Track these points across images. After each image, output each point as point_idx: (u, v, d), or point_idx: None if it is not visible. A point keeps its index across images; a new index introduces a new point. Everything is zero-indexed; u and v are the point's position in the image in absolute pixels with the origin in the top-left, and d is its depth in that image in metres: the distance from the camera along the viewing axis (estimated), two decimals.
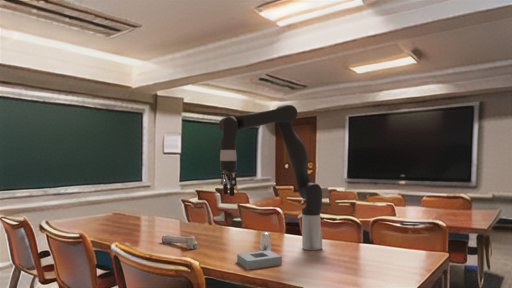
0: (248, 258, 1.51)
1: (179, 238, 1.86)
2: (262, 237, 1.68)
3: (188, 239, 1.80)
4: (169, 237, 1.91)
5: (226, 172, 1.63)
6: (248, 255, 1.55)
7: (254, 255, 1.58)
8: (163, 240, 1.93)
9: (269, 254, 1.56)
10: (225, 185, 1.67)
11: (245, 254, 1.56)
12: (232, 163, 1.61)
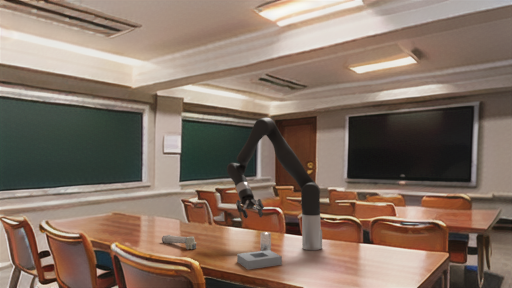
0: (248, 258, 1.51)
1: (179, 238, 1.86)
2: (262, 237, 1.68)
3: (187, 239, 1.80)
4: (169, 237, 1.91)
5: None
6: (248, 255, 1.55)
7: (254, 255, 1.58)
8: (163, 240, 1.93)
9: (269, 254, 1.56)
10: (258, 210, 1.86)
11: (245, 254, 1.56)
12: (239, 193, 1.88)
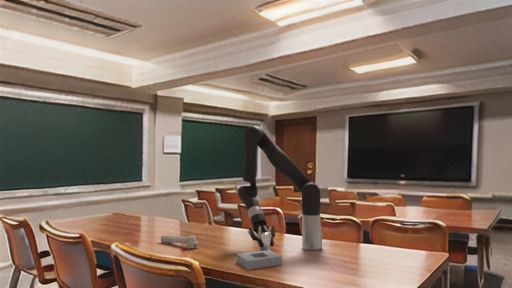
0: (248, 258, 1.51)
1: (179, 238, 1.86)
2: (262, 237, 1.68)
3: (189, 239, 1.81)
4: (169, 237, 1.91)
5: None
6: (248, 255, 1.55)
7: (254, 255, 1.58)
8: (162, 240, 1.93)
9: (269, 254, 1.56)
10: None
11: (245, 254, 1.56)
12: (251, 219, 1.77)
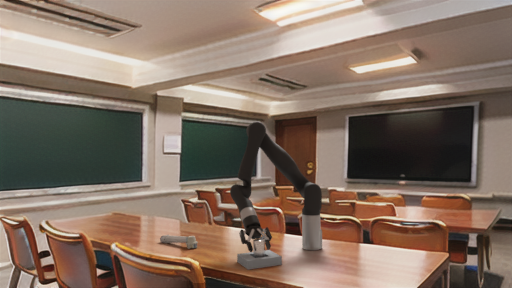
0: (248, 258, 1.51)
1: (179, 238, 1.86)
2: (255, 244, 1.54)
3: (188, 238, 1.82)
4: (168, 237, 1.91)
5: None
6: (248, 255, 1.55)
7: None
8: (162, 240, 1.93)
9: (269, 254, 1.56)
10: (265, 240, 1.59)
11: (245, 254, 1.56)
12: (244, 221, 1.62)
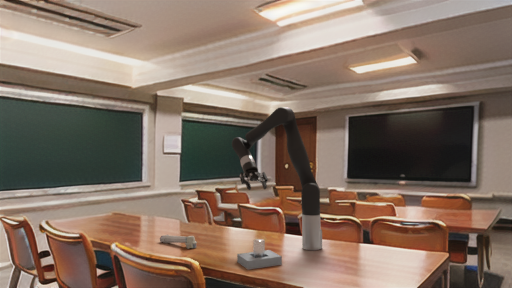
0: (248, 258, 1.51)
1: (178, 238, 1.87)
2: (255, 244, 1.54)
3: (188, 238, 1.82)
4: (168, 237, 1.91)
5: None
6: (248, 255, 1.55)
7: None
8: (161, 240, 1.93)
9: (269, 254, 1.56)
10: (262, 182, 1.83)
11: (245, 254, 1.56)
12: (243, 166, 1.87)
